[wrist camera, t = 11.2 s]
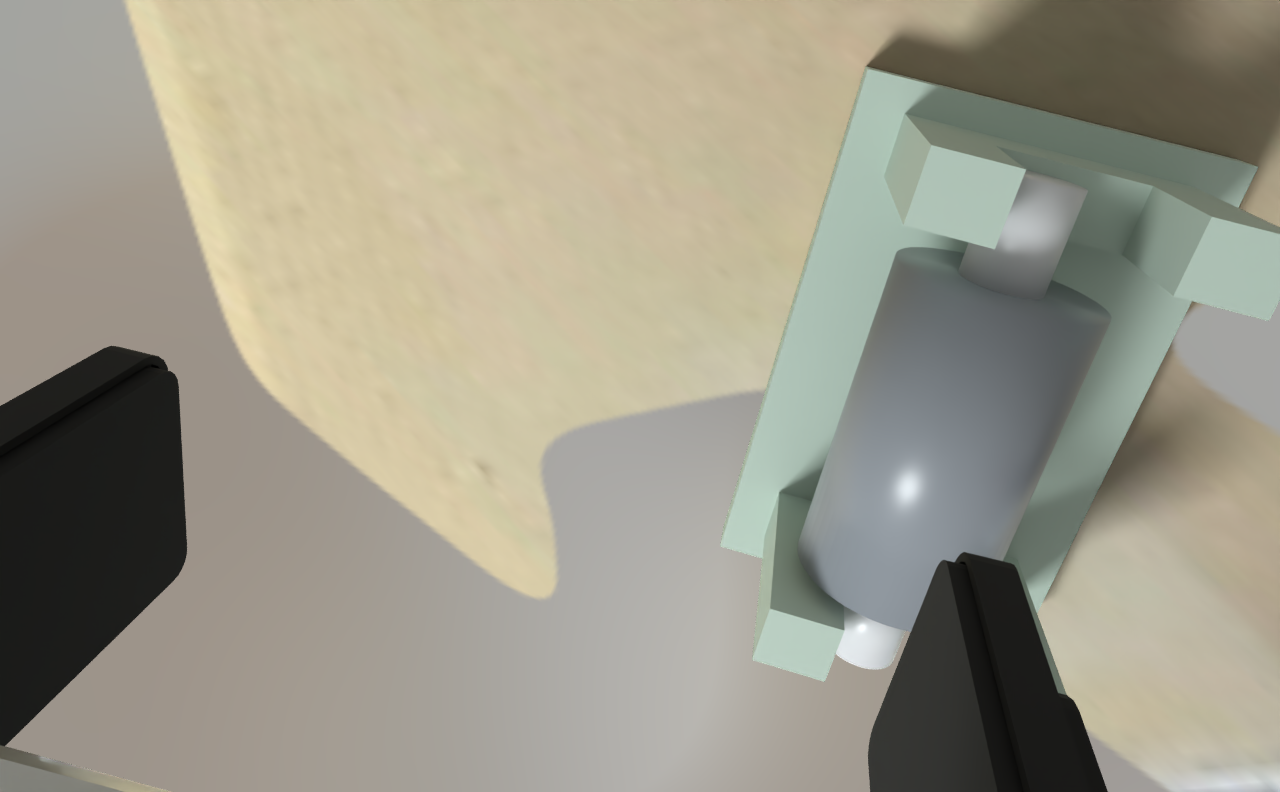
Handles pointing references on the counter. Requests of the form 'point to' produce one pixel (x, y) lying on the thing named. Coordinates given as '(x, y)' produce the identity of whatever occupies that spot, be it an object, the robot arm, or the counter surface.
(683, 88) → the counter surface
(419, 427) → the counter surface
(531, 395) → the counter surface
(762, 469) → the cradle
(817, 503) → the roll
